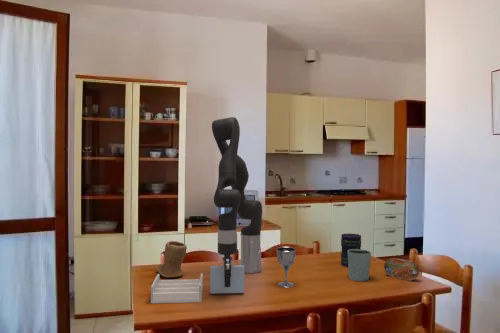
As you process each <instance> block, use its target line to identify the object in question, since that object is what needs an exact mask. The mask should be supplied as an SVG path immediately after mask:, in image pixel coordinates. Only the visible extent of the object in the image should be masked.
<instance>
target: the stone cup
mask: <svg viewBox="0 0 500 333" xmlns="http://www.w3.org/2000/svg"><path fill="white" fill-rule="evenodd" d="M186 254H187V245H186V244H185V243H184V242H182V241H181V242H180V241H177V240H170V241H167V242H166V243H165V247H164V261H165V262H164V263H161V264H159V265H156V268H155V269H156V271H157V272H158V274H160V276H163V277H164V278H179V277H181V276H183V274H184V272H183V270H182V265H183V261H184V259H185V256H186Z"/></svg>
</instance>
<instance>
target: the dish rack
mask: <svg viewBox="0 0 500 333" xmlns="http://www.w3.org/2000/svg"><path fill="white" fill-rule="evenodd" d="M160 276H161V274H160V273H157V274H156V276H155V278H154V280H153V282H152V285H150V304H174V303H175V304H177V303H178V304H181V303H182V304H183V303H185V304H186V303H188V304H189V303H202V297H203V287H204V285H203V284H204V280H203V279H204V273H203V272H200V277H199V278H196V279H192V278H191V279H189V278H188V279H187V278H186V279H161V278H160Z"/></svg>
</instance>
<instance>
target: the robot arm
mask: <svg viewBox="0 0 500 333" xmlns="http://www.w3.org/2000/svg"><path fill="white" fill-rule="evenodd" d="M211 132H212V135H213V138H214V139H215V143H216V145H217V147H218V150H219V152H220V155H221V159H220V160H219V164H218V179H217V180H218V181H217V186H216V189H215V191H214V195H213V204H214V206H215V207H217V208H220V209H221V208H228V209H229V208H231V209H230V211H229V212H226V213H225V212H224V213H221V214H218V219H217V220H218V222H217V223H218V224H217V225H218V228H217V230H218V231H217V253H218V255H223V256H222V257H221V261H222V262H221V263H222V266H223V271H224V277H225V287H230V277H231V271H232V265H233V256H232V255H235V254H237V253H238V231H237V228H238V227H237V226H238V225H237V224H238V223H237V221H238V220H237V218H238V217H239V218H240V219H242V220H248V221H249V220H250V224H249V225H247V226H243V227H242V228H240V265H244V274H255V273H261V272H262V250H261V230H262V221H263V205H262V202H261V201H259V200H257V199H247V198H246V194H245V189H246V187H247V184H248V182H249V176H250V174H249V170H248V168H247V164H246V162H245V161H244V159H243V158H242V157H241V156H240V155H239V154H238V151H239V143H240V137H241V136H240V135H241V133H240V132H241V128H240V123H239V121H238V119H237V118H236V117H235V116H231V117H225V118H219V119H215V120H213V121H212V123H211ZM227 141H229V144H228V142H227ZM227 187H231V189H230V188H229V189H227ZM225 188H226V189H225ZM224 266H225V268H224ZM226 273H229V274H226Z"/></svg>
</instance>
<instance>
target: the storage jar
mask: <svg viewBox="0 0 500 333" xmlns="http://www.w3.org/2000/svg"><path fill="white" fill-rule="evenodd" d="M340 237H341V238H340V239H341V240H340V245H341V253H340V262H341V263H340V265H341V266H342V267H345V268H348V264H349V263H348V252H347V251H348V250H350V249H361V248H362V235H361V234H358V233H342V234H341V236H340ZM361 250H362V249H361Z"/></svg>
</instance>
